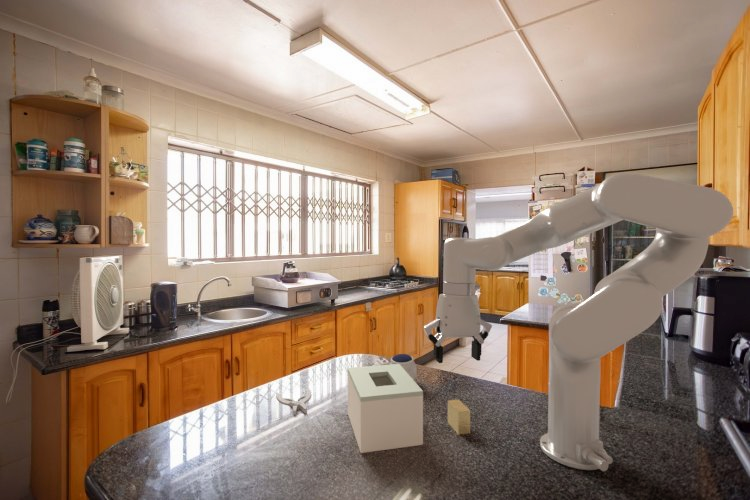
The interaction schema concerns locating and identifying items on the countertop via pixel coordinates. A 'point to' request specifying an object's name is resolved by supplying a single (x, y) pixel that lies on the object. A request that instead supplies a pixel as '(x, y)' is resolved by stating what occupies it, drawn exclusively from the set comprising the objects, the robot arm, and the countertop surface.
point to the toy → (401, 359)
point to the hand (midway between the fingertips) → (457, 360)
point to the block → (458, 417)
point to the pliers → (296, 402)
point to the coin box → (384, 407)
